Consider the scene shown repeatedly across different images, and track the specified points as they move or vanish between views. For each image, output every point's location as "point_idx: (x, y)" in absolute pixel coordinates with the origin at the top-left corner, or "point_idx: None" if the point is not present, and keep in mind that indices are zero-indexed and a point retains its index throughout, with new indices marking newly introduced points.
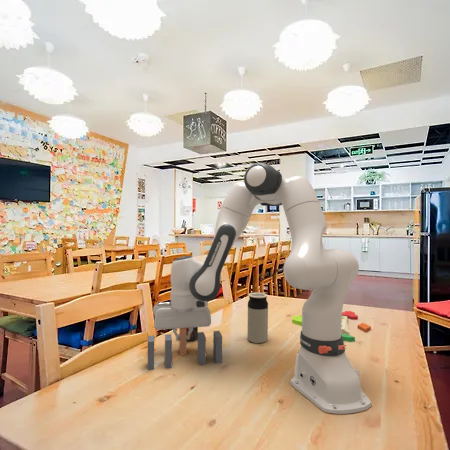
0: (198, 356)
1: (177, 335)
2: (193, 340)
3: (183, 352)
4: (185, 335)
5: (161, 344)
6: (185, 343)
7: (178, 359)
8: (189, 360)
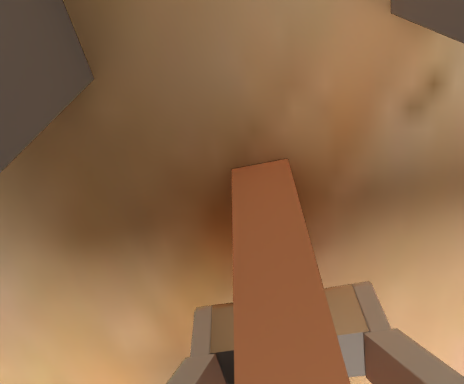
0: (37, 7)
1: (373, 337)
2: None
3: (259, 175)
4: (247, 324)
5: (448, 325)
6: (242, 236)
7: (303, 52)
8: (174, 26)
